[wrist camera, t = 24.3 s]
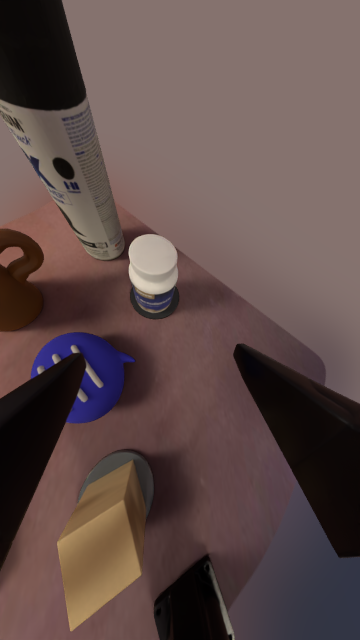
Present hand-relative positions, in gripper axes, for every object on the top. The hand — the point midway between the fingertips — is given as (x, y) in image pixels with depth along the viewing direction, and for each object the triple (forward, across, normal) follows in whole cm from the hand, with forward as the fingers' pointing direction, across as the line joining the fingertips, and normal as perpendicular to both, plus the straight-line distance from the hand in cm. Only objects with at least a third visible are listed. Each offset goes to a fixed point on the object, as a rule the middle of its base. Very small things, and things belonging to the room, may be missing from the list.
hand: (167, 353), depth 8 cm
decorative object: (+9, +8, +10) cm, 16 cm away
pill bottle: (+16, +1, +2) cm, 16 cm away
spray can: (+23, +9, -5) cm, 25 cm away
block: (-2, +5, +19) cm, 20 cm away
